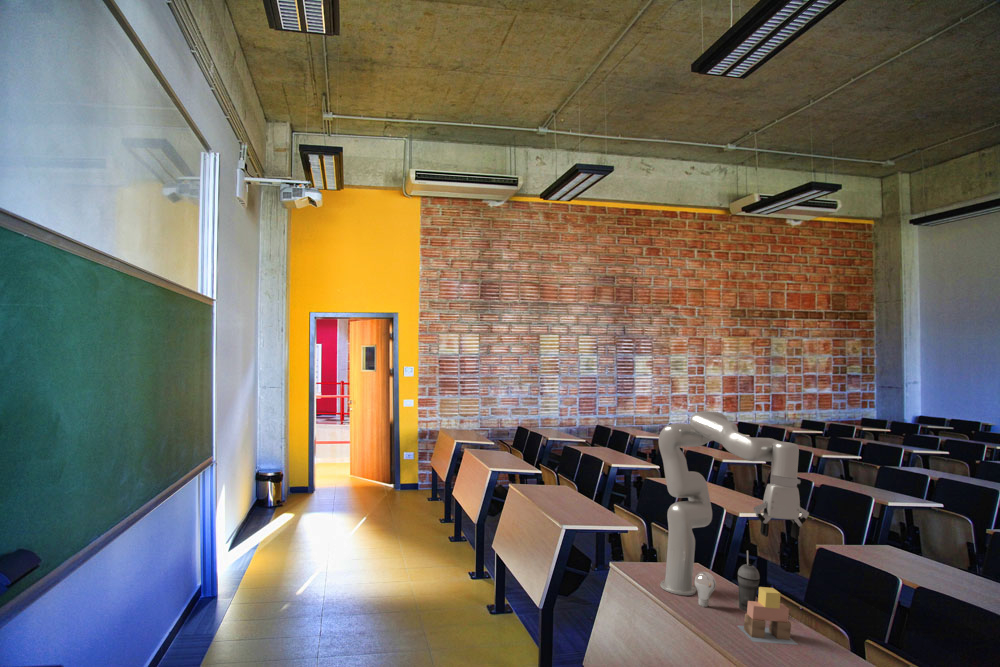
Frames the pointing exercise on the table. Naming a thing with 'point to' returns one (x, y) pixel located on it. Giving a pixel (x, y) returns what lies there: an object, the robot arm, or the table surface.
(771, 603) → the cube
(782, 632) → the pier
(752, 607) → the beam
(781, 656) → the table surface
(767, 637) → the board
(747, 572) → the beverage cup
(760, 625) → the block
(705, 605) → the light bulb
